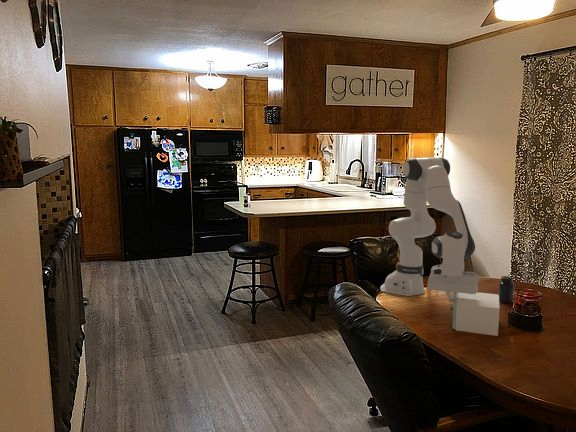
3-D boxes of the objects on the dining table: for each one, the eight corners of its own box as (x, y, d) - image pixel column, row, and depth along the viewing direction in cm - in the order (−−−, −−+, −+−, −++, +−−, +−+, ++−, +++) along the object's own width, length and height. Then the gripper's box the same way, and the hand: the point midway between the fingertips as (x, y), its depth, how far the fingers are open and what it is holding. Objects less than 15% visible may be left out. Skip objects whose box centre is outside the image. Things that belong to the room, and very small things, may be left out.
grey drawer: (448, 328, 195) (449, 303, 193) (451, 313, 211) (452, 290, 209) (489, 333, 188) (491, 308, 187) (490, 317, 205) (491, 294, 203)
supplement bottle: (510, 299, 230) (511, 275, 228) (515, 303, 223) (517, 279, 221) (495, 298, 230) (497, 275, 228) (500, 303, 224) (502, 279, 222)
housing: (455, 330, 194) (456, 303, 192) (458, 315, 210) (459, 290, 208) (497, 336, 187) (499, 308, 186) (497, 319, 204) (498, 294, 202)
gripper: (479, 270, 198) (477, 301, 200) (429, 266, 206) (428, 296, 208) (479, 274, 192) (477, 306, 194) (427, 269, 200) (426, 300, 202)
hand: (451, 301), depth 201 cm, fingers closed
